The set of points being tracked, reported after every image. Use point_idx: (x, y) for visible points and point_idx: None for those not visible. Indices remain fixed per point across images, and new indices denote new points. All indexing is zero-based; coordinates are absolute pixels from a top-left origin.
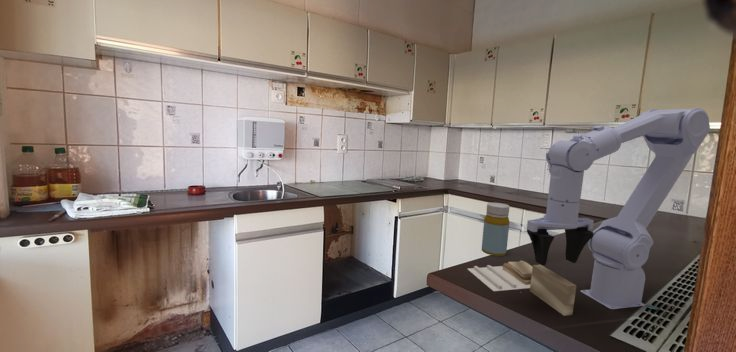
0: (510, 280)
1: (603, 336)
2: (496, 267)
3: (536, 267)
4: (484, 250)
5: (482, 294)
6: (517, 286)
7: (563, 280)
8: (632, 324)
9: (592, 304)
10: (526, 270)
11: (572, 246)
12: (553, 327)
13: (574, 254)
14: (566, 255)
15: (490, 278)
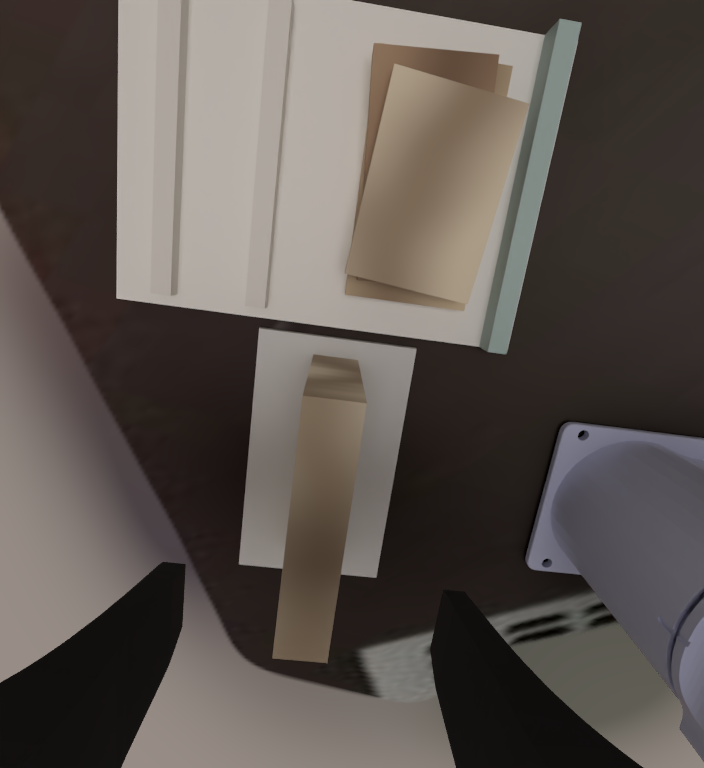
0: (267, 253)
1: (331, 649)
2: (349, 19)
3: (299, 430)
4: None
5: (59, 285)
6: (286, 295)
7: (308, 608)
8: (505, 632)
9: (511, 505)
10: (406, 238)
11: (478, 739)
12: (200, 573)
13: (450, 706)
14: (450, 614)
15: (159, 191)
